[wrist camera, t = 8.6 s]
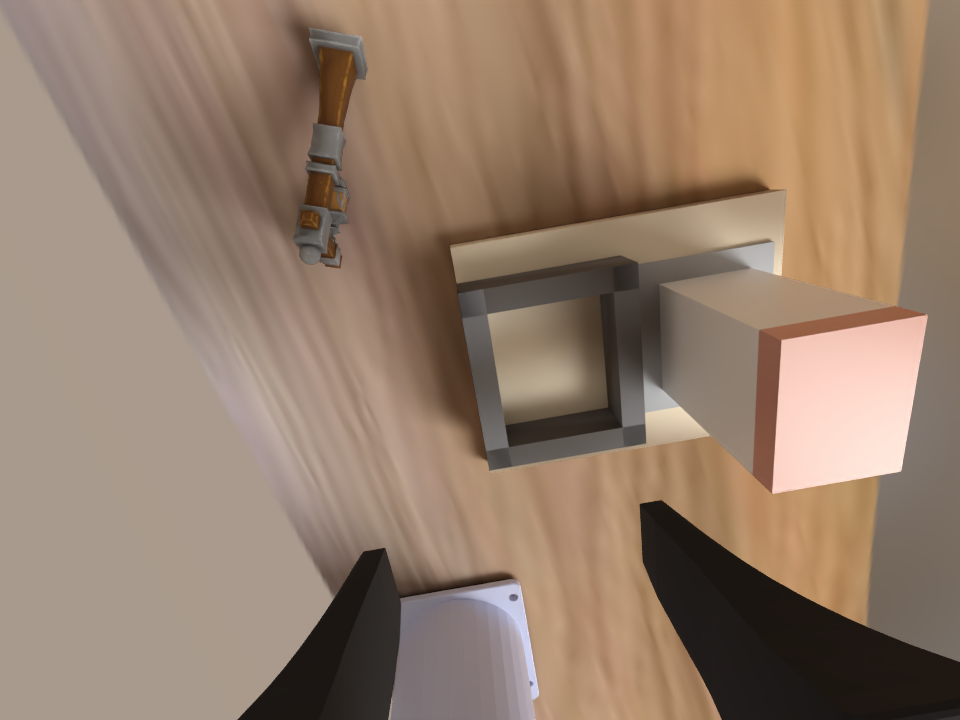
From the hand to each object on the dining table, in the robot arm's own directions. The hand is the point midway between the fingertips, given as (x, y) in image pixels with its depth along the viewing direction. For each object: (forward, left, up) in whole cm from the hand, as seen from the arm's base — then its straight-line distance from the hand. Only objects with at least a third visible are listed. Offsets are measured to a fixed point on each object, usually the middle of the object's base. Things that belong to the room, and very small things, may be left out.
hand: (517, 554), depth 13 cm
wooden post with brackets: (+11, +4, -11) cm, 16 cm away
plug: (+2, -10, -9) cm, 14 cm away
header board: (+2, -6, -10) cm, 12 cm away
